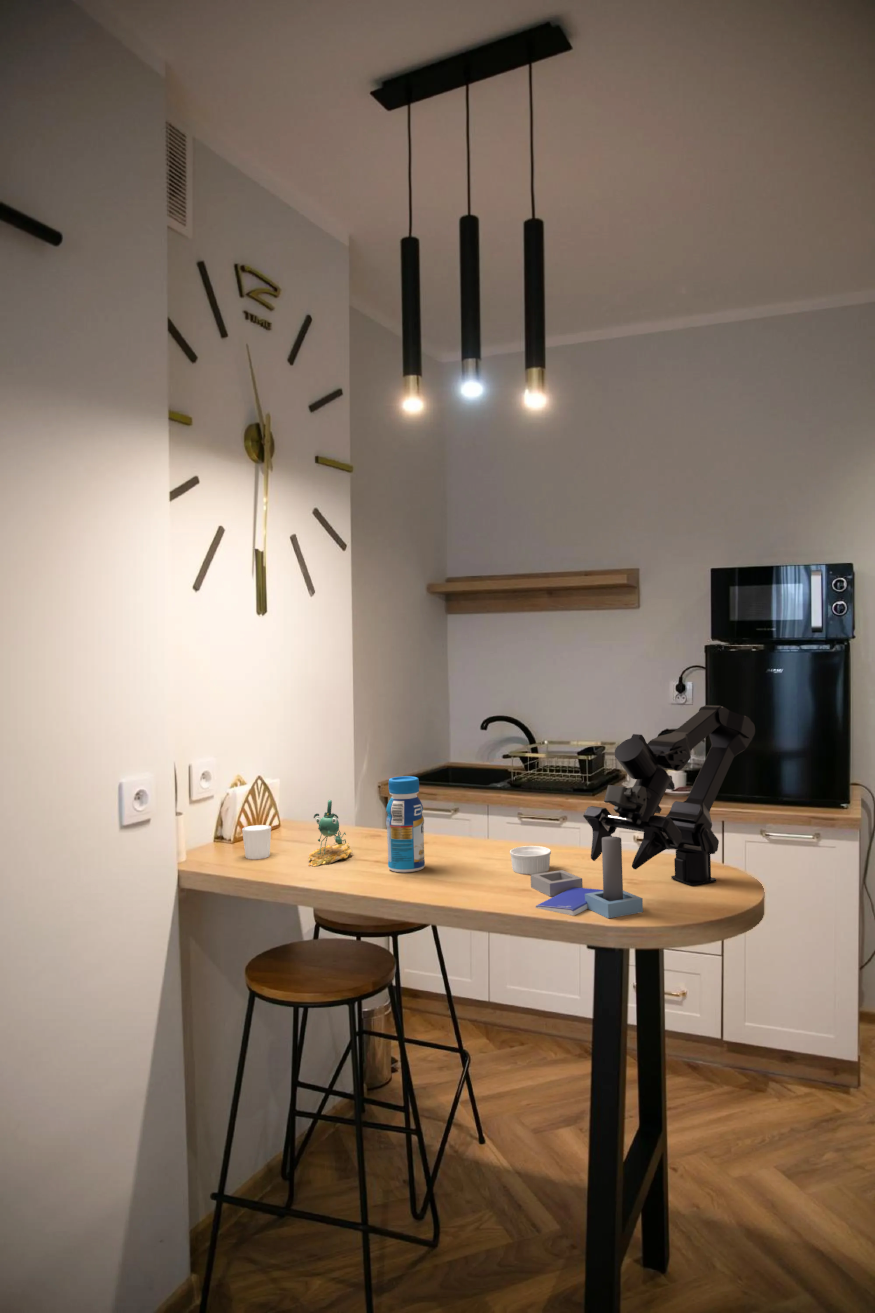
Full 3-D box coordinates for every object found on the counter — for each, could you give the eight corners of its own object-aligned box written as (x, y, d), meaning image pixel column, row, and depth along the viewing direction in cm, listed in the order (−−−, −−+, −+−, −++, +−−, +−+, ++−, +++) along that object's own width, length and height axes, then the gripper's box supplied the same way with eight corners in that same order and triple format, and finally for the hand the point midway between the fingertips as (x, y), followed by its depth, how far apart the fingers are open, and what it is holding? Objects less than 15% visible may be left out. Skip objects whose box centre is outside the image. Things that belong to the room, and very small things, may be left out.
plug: (607, 906, 160) (605, 835, 159) (626, 908, 158) (624, 837, 158) (601, 911, 157) (598, 839, 156) (619, 913, 155) (617, 841, 155)
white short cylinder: (266, 860, 203) (265, 830, 203) (238, 860, 204) (237, 830, 204) (276, 853, 210) (275, 824, 210) (249, 853, 211) (248, 824, 211)
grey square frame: (562, 882, 176) (562, 870, 176) (582, 891, 170) (582, 878, 170) (531, 887, 173) (530, 875, 173) (550, 896, 167) (549, 883, 167)
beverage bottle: (381, 867, 193) (378, 778, 193) (415, 861, 197) (412, 774, 197) (397, 875, 186) (394, 782, 186) (432, 869, 190) (429, 778, 189)
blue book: (572, 908, 155) (607, 889, 164) (535, 904, 160) (570, 886, 169) (573, 917, 155) (608, 898, 164) (536, 913, 160) (571, 894, 169)
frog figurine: (369, 850, 210) (364, 791, 208) (329, 877, 194) (324, 813, 192) (335, 847, 214) (331, 789, 213) (294, 873, 198) (288, 810, 196)
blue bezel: (618, 901, 162) (618, 888, 162) (642, 912, 155) (642, 898, 155) (585, 907, 159) (584, 894, 159) (608, 918, 152) (608, 904, 152)
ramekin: (549, 876, 182) (549, 855, 182) (507, 875, 183) (507, 855, 183) (553, 865, 190) (552, 846, 190) (512, 864, 192) (512, 845, 192)
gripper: (587, 764, 167) (551, 830, 160) (670, 772, 153) (635, 846, 146) (614, 798, 173) (580, 864, 166) (696, 810, 159) (663, 882, 152)
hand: (612, 863), depth 157 cm, fingers open, 9 cm apart
